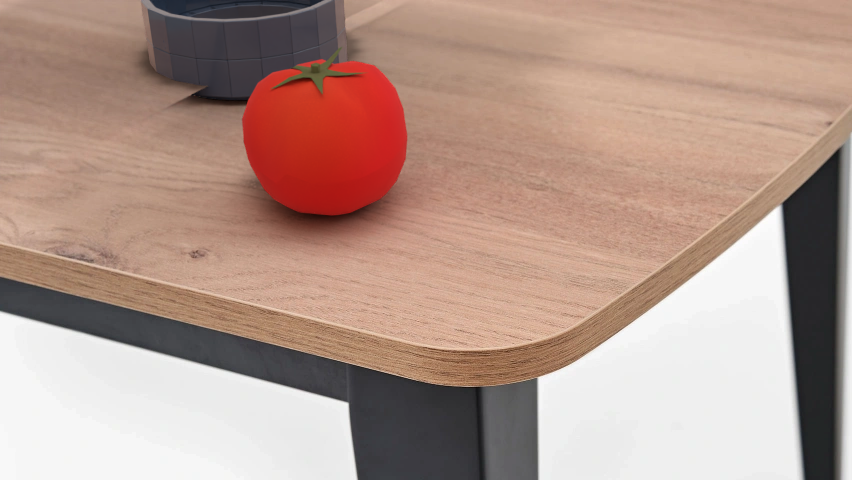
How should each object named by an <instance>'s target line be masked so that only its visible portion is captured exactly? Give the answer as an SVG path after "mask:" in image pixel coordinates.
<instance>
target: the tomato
mask: <svg viewBox="0 0 852 480" xmlns="http://www.w3.org/2000/svg"><path fill="white" fill-rule="evenodd" d="M342 47H343V46H342ZM342 47H341V48H342ZM341 48H339V49H338V50H337V51H336V52H335V53H334V54H333V55H332V56H331V57H330V58H329V59H328V60H327V61H325V60H323V59H320V60H316V61H311V62H307V63H303V64H298V65H296V66H295V67H293V68H290V69H287V70H282V71H277V72H273V73H271V74H270V75H268V76H267V77H265V78H264V79H263V80H261V81H260V82H258V84H257V86H256V87H255V89H254V91H253V93H252V94H251V96H250V98H249V100H247V103H246V105H245V109H244V112H243V115H242V118H241V125H242V137H243V145H244V148H245V153H246V158H247V160H248V162H249V163H248V164H249V165H250V167H251V169H252V171H253V173H254V175H255V176H256V178H257V180H258V182H259V183H260V185H261V187H262V189H263V190H264V191H265V193H267V194H268V195H269V196H270V197H271V198H272V199H273V200H274V201H275V202H277V203H279V204H281V205H283V206H285V207H287V208H288V209H291V210H293V211H295V212H297V213H301V214H310V215H311V214H312V215H322V216H340V215H346V214H351V213H354V212H356V211H358V210H360V209H362V208H363V207H366V206H368V205H371V204H373V203H375V202H377V201H379V200H381V199H382V198H384V196H385V195H387V194H388V193H389V191H390V190H391V189H392V188H393V186H394V185H395V184H396V182H397V181H398V179H399V176H400V174H401V171H402V170H403V167H404V164H405V162H406V160H407V149H408V130H407V123H406V116H405V110H404V107H403V104H402V102H401V98H400V95H399V94H398V91H397V89H396V86H395V85H394V84H393V83H392V82H391V80H389V78H388V77H387V75H385V74H384V72H382V71H381V69H379V67H377V66H376V65H374V64H371V63H366V62H361V61H357V60H350V61H349V60H348V61H347V62H343V63H337V64H333V63H332V62H333V61H334V59H335V58H336V56H337V55H338V53H339V51H340V50H341Z"/></svg>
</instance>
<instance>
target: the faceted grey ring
mask: <svg viewBox="0 0 852 480" xmlns="http://www.w3.org/2000/svg"><path fill="white" fill-rule="evenodd" d="M140 6H141V12H142V20H143V27H144V32H145V33H144V34H145V39H146V40H145V41H146V46H147V54H148V59H149V64H150V66H151V67H152V68H153V70H154V71H155V72H156V73H157V74H159V75H161V76H163V77H165V78H167V79H170V80H172V81H174V82H180V83H185V84H190V85H195V86H201V87H203V86H204V87H203V88H202V89H200V90H197V91H196V92H193V93H191V94H190V96H193V97H196V98H203V99H210V100H218V101H248V100H249V98H250V96H251V94H252V93H253V91H254V89H255V87H256V86H257V84H258V82H260V81H261V80H263V79H264V78H265V77H267V76H268V75H270V74H271V73H273V72H277V71H282V70H287V69H290V68H293V67H295V66H296V65H298V64H303V63H307V62H311V61H316V60H320V59H323V60H325V61H327V60H328V59H329V58H330V57H331V56H332V55H333V54H334V53H335V52H336V51H337V50H338V49H339V48H341V47H342V46H343V47H342V48H341V50H340V51H339V53H338V55H337V56H336V58H335V59H334V61H333V62H332V63H333V64H337V63H343V62H349V60H348V45H347V44H348V43H347V28H346V16H345V15H346V13H345V0H140Z"/></svg>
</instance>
